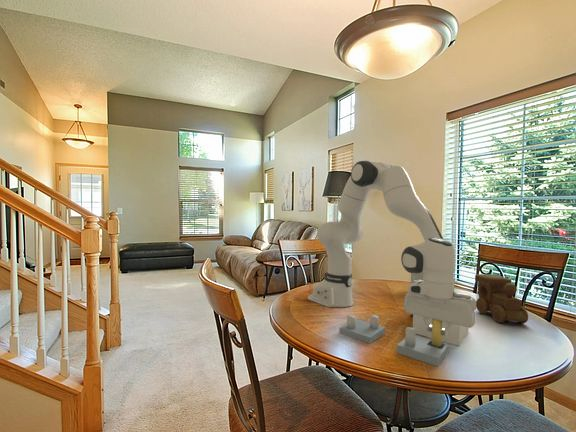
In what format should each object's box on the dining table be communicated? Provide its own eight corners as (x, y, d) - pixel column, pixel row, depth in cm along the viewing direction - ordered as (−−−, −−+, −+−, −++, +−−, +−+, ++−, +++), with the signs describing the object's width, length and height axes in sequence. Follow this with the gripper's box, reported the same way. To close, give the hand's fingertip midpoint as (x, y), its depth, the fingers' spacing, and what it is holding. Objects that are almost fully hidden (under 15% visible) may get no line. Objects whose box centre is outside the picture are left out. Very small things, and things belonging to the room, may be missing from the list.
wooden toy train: (471, 309, 138) (473, 273, 137) (496, 310, 138) (497, 274, 137) (503, 326, 118) (504, 285, 117) (531, 327, 118) (533, 285, 117)
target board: (396, 352, 94) (397, 329, 94) (410, 340, 103) (411, 319, 103) (437, 366, 86) (438, 341, 86) (448, 352, 95) (449, 328, 95)
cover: (412, 332, 110) (413, 303, 109) (425, 321, 121) (426, 294, 121) (459, 346, 100) (460, 313, 99) (468, 332, 111) (469, 303, 111)
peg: (429, 344, 94) (430, 319, 94) (432, 341, 97) (433, 316, 97) (440, 347, 92) (441, 321, 92) (442, 344, 95) (443, 319, 95)
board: (339, 332, 108) (339, 316, 108) (355, 323, 117) (356, 308, 117) (370, 343, 100) (370, 325, 100) (385, 332, 109) (385, 316, 109)
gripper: (478, 294, 90) (476, 339, 90) (409, 282, 103) (408, 321, 104) (474, 298, 85) (472, 346, 85) (402, 285, 99) (401, 326, 99)
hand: (436, 332), depth 95 cm, fingers closed on peg, 3 cm apart
